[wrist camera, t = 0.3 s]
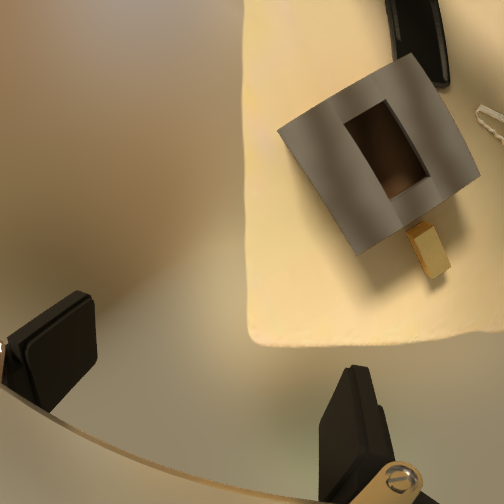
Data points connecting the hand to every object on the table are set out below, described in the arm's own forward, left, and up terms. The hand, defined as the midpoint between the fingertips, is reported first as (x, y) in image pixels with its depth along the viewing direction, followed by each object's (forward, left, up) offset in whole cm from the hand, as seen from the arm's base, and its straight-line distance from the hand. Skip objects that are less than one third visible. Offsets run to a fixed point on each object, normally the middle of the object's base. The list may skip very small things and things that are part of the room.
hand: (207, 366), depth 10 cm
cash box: (-14, 0, -30) cm, 33 cm away
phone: (-29, -10, -31) cm, 44 cm away
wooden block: (-14, +14, -30) cm, 36 cm away
